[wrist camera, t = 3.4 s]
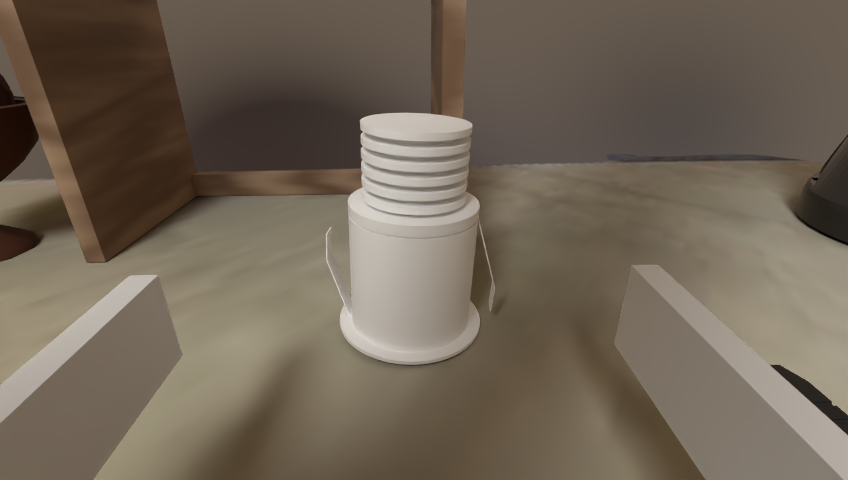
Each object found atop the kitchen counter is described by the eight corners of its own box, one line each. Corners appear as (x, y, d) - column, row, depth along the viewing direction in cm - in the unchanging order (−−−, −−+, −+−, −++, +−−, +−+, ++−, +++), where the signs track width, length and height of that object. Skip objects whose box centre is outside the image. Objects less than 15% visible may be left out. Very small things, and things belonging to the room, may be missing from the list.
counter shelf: (443, 189, 41) (447, -89, 32) (458, 255, 28) (471, -173, 19) (188, 192, 40) (119, -89, 31) (86, 262, 28) (-79, -176, 19)
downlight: (312, 363, 19) (292, 133, 15) (346, 282, 25) (339, 105, 21) (495, 376, 19) (528, 146, 14) (483, 290, 25) (504, 113, 21)
